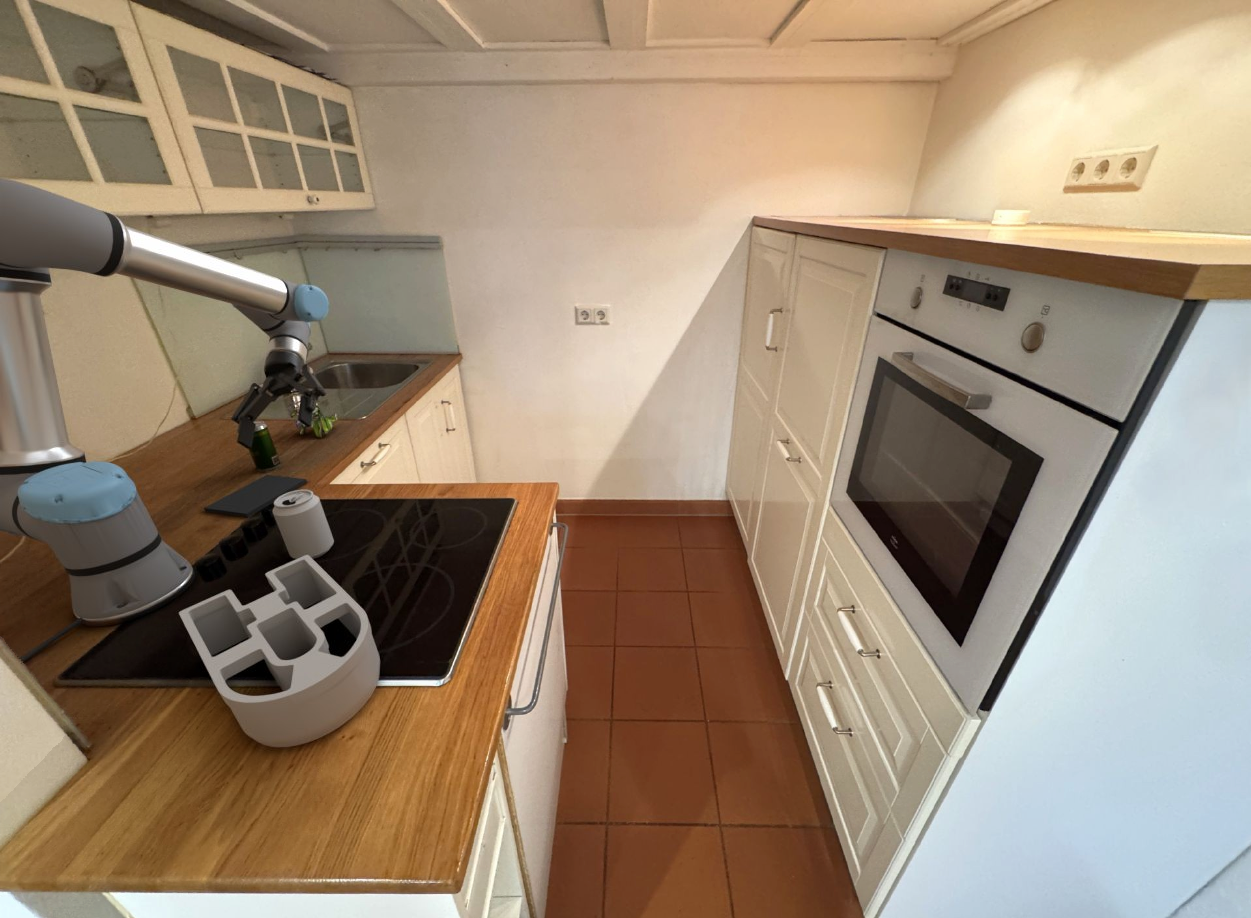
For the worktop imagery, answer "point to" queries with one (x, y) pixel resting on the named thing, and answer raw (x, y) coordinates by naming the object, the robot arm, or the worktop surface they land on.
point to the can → (302, 524)
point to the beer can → (263, 449)
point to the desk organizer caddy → (288, 654)
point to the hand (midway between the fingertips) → (274, 434)
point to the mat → (255, 496)
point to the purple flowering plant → (316, 421)
